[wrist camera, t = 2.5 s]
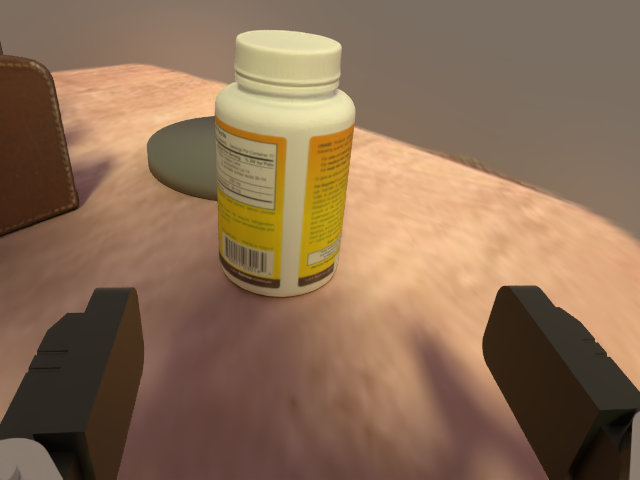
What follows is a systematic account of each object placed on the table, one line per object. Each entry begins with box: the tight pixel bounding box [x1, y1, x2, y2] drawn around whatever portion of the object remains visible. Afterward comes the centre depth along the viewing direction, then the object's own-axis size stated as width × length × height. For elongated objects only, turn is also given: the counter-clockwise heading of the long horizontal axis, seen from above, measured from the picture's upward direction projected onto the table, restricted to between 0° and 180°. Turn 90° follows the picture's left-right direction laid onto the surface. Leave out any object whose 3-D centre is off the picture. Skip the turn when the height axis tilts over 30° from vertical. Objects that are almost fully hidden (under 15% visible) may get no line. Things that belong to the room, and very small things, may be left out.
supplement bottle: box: [215, 30, 355, 297], centre depth 21 cm, size 6×6×10 cm
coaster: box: [147, 116, 218, 200], centre depth 34 cm, size 12×12×1 cm
